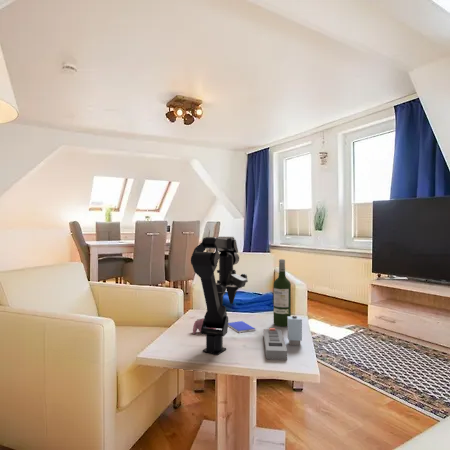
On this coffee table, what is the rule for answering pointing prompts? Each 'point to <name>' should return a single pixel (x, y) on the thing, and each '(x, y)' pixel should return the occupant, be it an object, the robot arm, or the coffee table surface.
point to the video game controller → (198, 325)
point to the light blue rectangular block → (294, 330)
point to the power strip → (274, 344)
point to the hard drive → (241, 326)
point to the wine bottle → (281, 297)
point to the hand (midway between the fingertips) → (226, 306)
